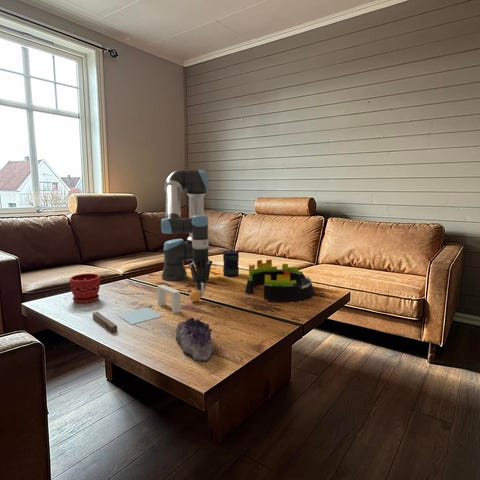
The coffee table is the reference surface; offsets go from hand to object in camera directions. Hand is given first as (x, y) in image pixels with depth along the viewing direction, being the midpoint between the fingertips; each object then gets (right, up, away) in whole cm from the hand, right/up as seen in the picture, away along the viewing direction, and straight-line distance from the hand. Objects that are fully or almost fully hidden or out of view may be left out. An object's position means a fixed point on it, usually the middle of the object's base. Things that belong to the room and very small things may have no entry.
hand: (201, 295), depth 165 cm
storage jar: (+13, +5, +50) cm, 52 cm away
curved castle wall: (+40, -1, +15) cm, 42 cm away
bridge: (-13, -4, -11) cm, 18 cm away
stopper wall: (-35, -6, -30) cm, 47 cm away
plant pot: (-55, -2, -1) cm, 55 cm away
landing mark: (-24, -5, -20) cm, 32 cm away
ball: (-3, 0, -2) cm, 4 cm away
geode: (+4, -10, -50) cm, 51 cm away
